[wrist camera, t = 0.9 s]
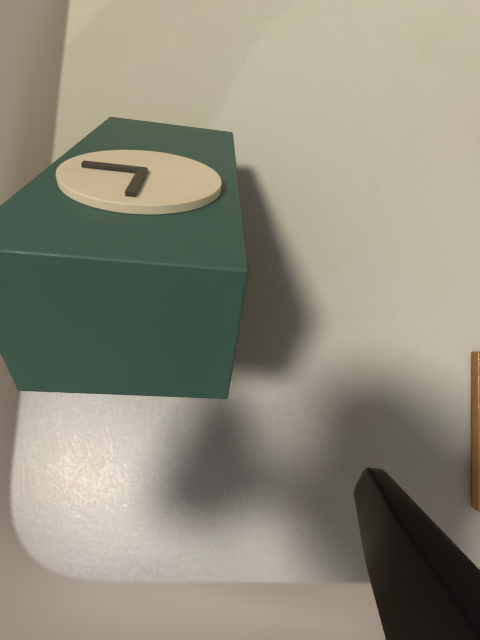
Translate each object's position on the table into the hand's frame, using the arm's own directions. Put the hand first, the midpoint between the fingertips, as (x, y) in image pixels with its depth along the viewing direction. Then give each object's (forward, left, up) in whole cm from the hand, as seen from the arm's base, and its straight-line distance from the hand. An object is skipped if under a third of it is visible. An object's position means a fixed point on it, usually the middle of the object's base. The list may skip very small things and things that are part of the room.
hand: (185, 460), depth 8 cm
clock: (+2, +8, -13) cm, 15 cm away
